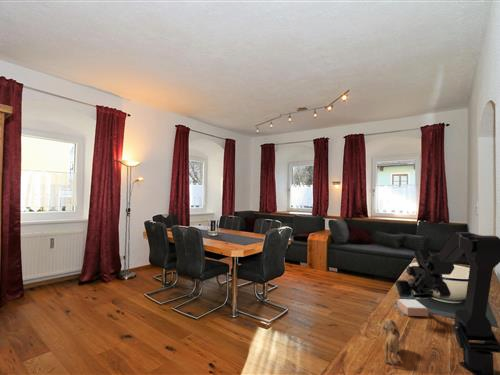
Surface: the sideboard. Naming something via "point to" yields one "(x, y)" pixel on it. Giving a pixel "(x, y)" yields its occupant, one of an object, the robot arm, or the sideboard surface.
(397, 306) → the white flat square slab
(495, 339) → the robot arm
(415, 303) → the tile
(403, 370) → the sideboard surface
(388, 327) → the dog figurine
